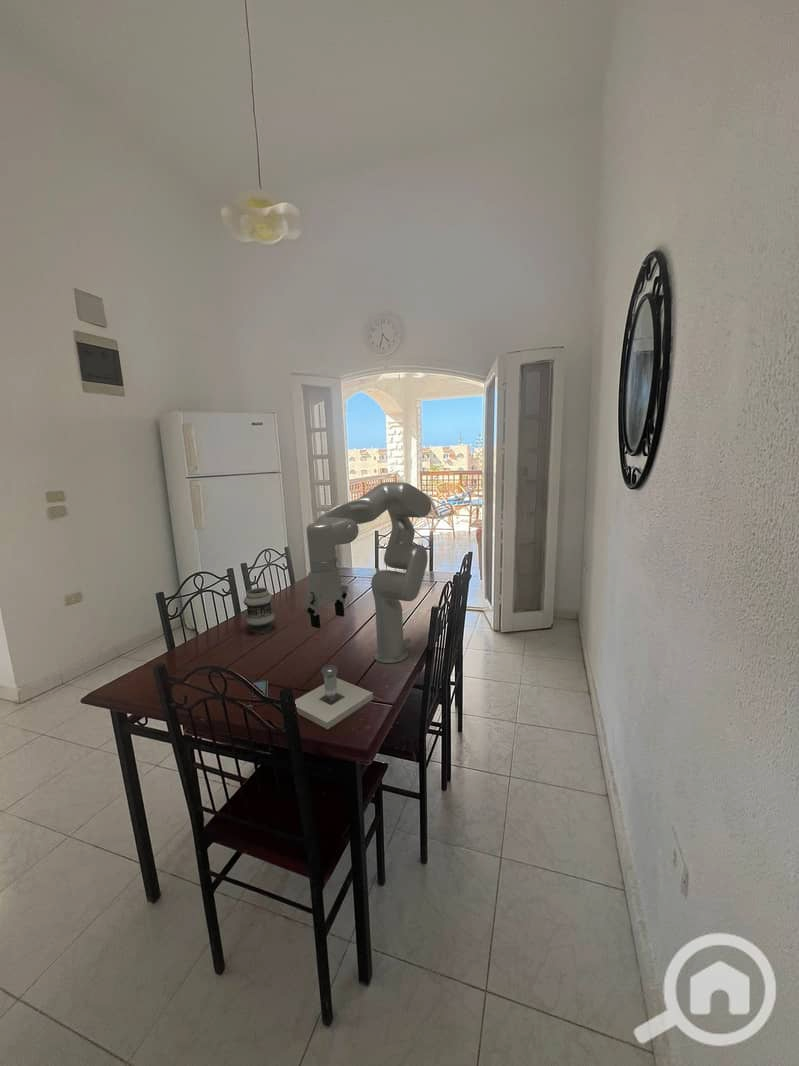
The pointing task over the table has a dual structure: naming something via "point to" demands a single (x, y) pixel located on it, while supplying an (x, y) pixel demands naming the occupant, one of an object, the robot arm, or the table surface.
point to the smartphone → (261, 687)
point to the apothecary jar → (259, 611)
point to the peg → (330, 683)
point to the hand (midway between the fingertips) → (328, 621)
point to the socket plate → (328, 714)
